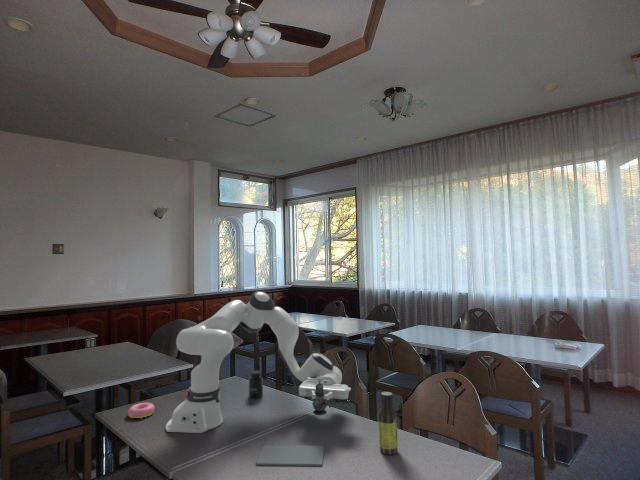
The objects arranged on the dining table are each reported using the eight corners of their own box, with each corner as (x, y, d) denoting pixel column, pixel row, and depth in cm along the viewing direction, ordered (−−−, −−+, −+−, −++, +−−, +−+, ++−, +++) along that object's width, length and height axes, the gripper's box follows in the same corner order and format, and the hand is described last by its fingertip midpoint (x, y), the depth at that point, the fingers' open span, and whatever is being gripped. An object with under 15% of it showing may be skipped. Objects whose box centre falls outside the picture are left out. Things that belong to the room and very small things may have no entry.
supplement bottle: (251, 400, 187) (251, 374, 187) (247, 395, 193) (246, 371, 193) (265, 397, 190) (264, 372, 190) (260, 393, 196) (260, 368, 196)
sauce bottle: (400, 454, 134) (399, 395, 135) (383, 456, 133) (382, 397, 134) (393, 445, 141) (391, 389, 141) (376, 447, 139) (375, 391, 140)
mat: (255, 465, 129) (255, 463, 129) (263, 447, 141) (263, 445, 141) (322, 466, 128) (322, 464, 128) (324, 447, 140) (324, 446, 140)
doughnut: (137, 422, 165) (137, 412, 165) (122, 416, 171) (122, 407, 171) (160, 413, 174) (160, 403, 174) (145, 408, 180) (145, 399, 180)
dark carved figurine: (311, 409, 154) (311, 379, 154) (326, 408, 154) (326, 378, 154) (312, 416, 148) (312, 384, 148) (328, 415, 148) (327, 383, 148)
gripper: (351, 395, 162) (346, 408, 149) (304, 391, 167) (295, 403, 153) (351, 379, 162) (346, 391, 149) (304, 376, 167) (294, 387, 153)
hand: (319, 397), depth 151 cm, fingers closed on dark carved figurine, 3 cm apart
